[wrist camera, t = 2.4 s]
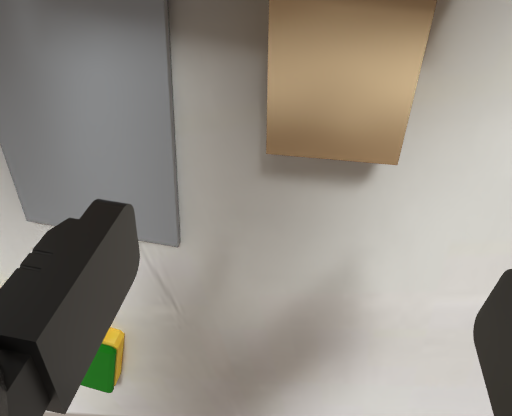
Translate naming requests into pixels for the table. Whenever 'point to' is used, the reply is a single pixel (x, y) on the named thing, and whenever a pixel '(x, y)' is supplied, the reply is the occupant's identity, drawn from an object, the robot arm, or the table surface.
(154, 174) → the slate mat
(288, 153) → the oak block
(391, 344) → the table surface
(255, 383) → the table surface
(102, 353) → the dish sponge
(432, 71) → the table surface
